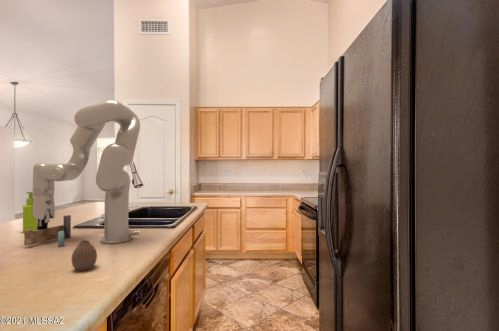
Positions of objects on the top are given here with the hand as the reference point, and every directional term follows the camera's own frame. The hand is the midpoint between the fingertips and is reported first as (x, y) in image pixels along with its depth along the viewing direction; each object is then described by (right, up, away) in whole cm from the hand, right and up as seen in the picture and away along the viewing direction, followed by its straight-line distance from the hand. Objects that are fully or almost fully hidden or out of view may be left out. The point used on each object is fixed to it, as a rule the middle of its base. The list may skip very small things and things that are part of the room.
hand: (42, 234), depth 117 cm
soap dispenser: (-19, -3, +18) cm, 26 cm away
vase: (+37, -3, -31) cm, 48 cm away
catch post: (+12, -3, -6) cm, 14 cm away
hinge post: (+6, -3, +7) cm, 10 cm away
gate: (+3, -2, -2) cm, 4 cm away
